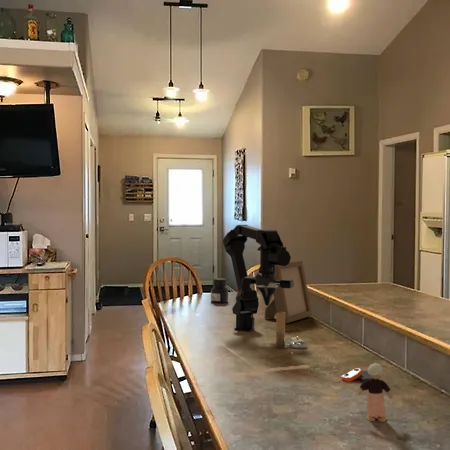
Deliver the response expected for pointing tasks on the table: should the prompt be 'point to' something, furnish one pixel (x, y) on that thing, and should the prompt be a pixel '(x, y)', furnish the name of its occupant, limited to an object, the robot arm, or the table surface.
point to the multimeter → (355, 375)
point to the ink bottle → (219, 291)
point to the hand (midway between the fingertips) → (267, 305)
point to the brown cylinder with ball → (281, 334)
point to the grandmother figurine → (375, 393)
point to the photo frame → (290, 294)
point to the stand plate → (296, 340)
